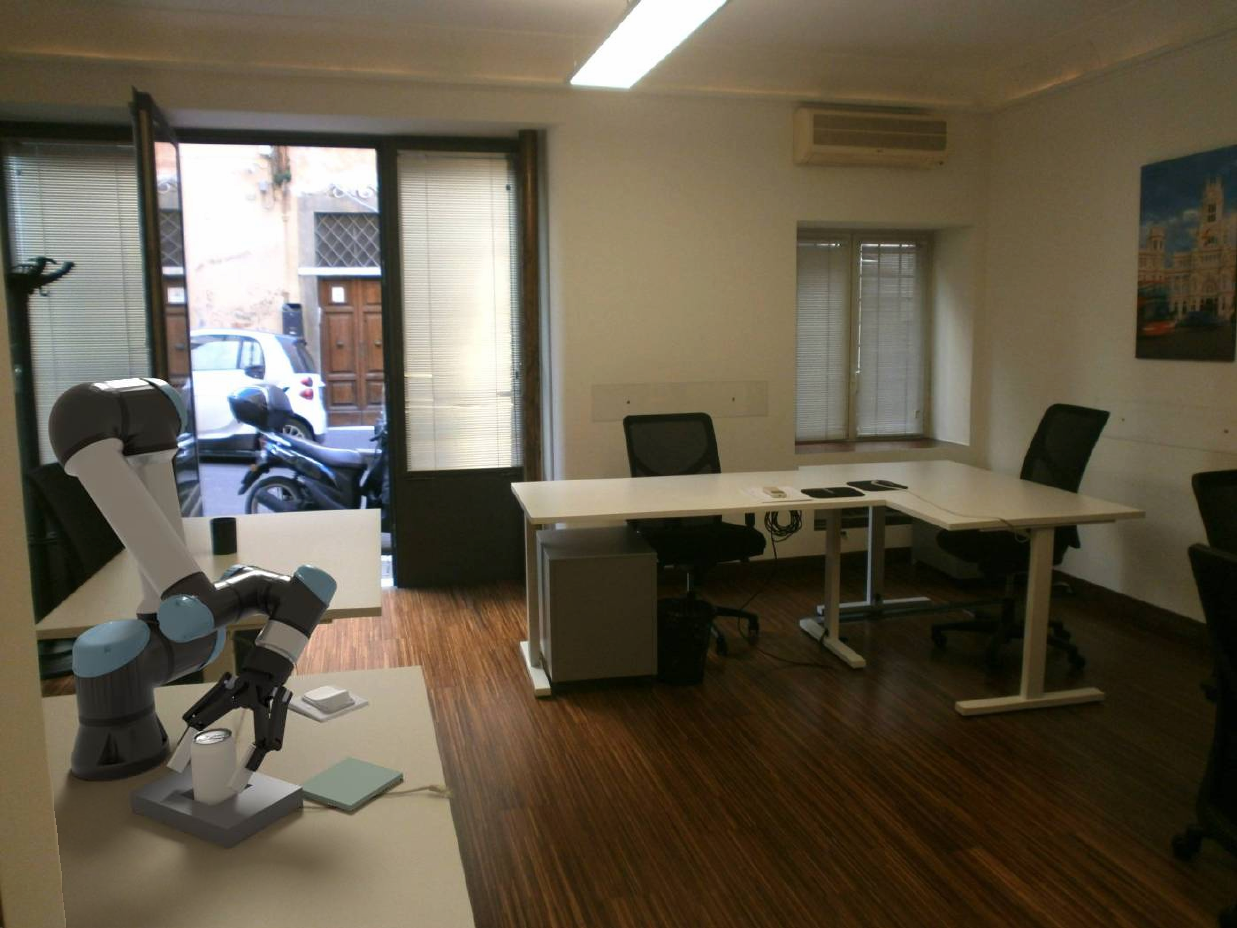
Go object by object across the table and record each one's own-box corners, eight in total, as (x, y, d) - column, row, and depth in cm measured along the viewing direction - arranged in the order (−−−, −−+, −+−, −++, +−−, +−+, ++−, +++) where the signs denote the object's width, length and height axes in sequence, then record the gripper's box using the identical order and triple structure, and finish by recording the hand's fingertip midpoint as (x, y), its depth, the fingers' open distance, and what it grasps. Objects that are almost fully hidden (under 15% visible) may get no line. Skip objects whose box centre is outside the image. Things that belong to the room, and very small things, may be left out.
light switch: (322, 709, 180) (283, 688, 188) (323, 729, 181) (284, 708, 189) (370, 690, 188) (331, 671, 196) (370, 710, 189) (331, 690, 197)
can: (197, 801, 152) (192, 729, 150) (241, 794, 154) (236, 724, 152) (193, 821, 146) (186, 747, 144) (238, 814, 148) (233, 741, 146)
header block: (131, 810, 149) (130, 792, 149) (208, 772, 162) (207, 755, 161) (229, 848, 139) (227, 829, 138) (303, 804, 151) (302, 786, 151)
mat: (294, 793, 155) (294, 787, 155) (349, 762, 165) (348, 756, 165) (350, 811, 149) (350, 805, 149) (403, 778, 159) (402, 772, 159)
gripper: (343, 678, 155) (276, 807, 144) (236, 652, 167) (166, 770, 156) (317, 657, 149) (244, 790, 139) (208, 631, 161) (133, 752, 151)
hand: (203, 779), depth 147 cm, fingers open, 13 cm apart
